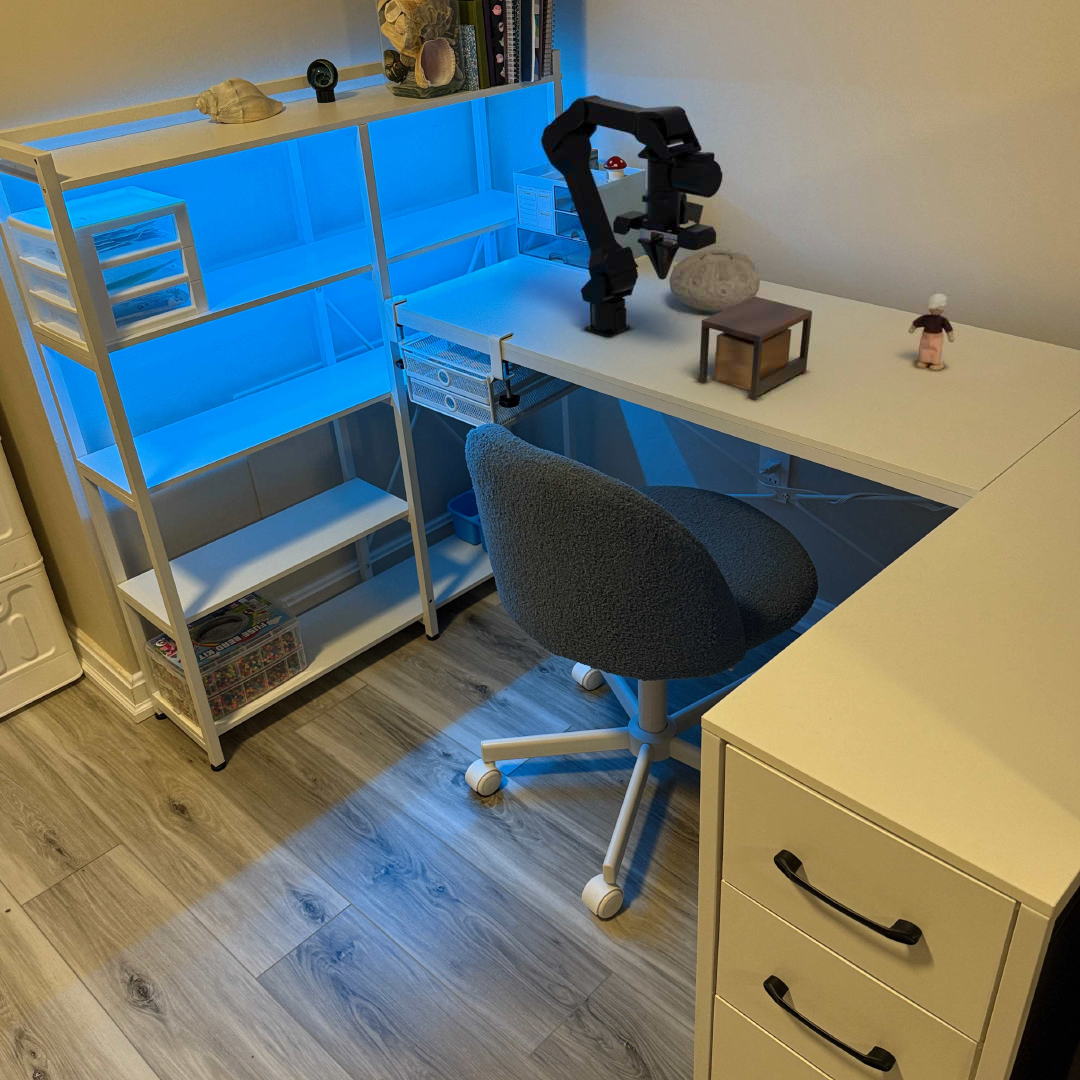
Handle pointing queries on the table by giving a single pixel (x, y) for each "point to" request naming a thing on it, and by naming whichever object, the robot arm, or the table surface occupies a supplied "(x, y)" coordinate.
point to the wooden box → (748, 357)
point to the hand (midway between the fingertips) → (662, 278)
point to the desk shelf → (759, 337)
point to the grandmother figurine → (932, 332)
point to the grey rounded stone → (714, 280)
